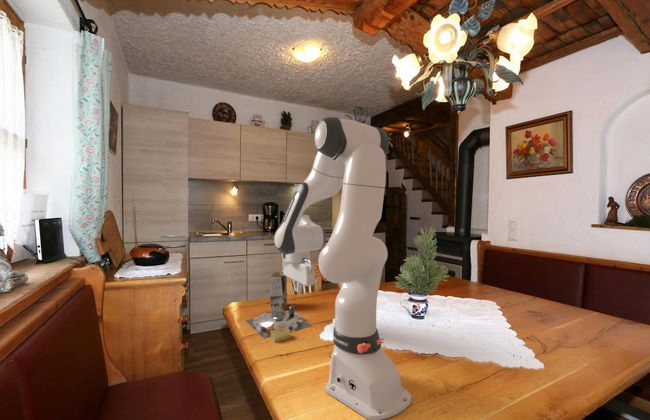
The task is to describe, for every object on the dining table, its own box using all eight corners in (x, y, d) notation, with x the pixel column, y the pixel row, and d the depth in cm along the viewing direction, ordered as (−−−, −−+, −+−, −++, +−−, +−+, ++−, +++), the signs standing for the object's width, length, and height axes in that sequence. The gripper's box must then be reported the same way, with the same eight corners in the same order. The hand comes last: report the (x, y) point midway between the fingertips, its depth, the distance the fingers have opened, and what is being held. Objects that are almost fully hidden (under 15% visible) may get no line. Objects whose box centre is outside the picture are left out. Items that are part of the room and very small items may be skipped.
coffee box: (284, 312, 133) (284, 276, 132) (269, 312, 133) (269, 276, 133) (287, 306, 142) (287, 272, 142) (273, 305, 142) (273, 271, 142)
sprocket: (311, 325, 116) (311, 311, 116) (264, 338, 105) (264, 322, 105) (289, 311, 132) (289, 298, 132) (246, 320, 122) (246, 306, 122)
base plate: (312, 328, 116) (312, 326, 116) (263, 341, 105) (263, 338, 105) (289, 312, 133) (289, 310, 133) (245, 322, 122) (245, 320, 122)
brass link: (290, 341, 106) (290, 329, 105) (274, 345, 102) (274, 333, 102) (286, 337, 108) (286, 326, 108) (270, 342, 105) (270, 330, 105)
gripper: (319, 259, 108) (319, 297, 109) (293, 251, 126) (293, 284, 126) (304, 261, 105) (303, 300, 105) (279, 252, 122) (279, 286, 123)
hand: (297, 291), depth 116 cm, fingers closed
